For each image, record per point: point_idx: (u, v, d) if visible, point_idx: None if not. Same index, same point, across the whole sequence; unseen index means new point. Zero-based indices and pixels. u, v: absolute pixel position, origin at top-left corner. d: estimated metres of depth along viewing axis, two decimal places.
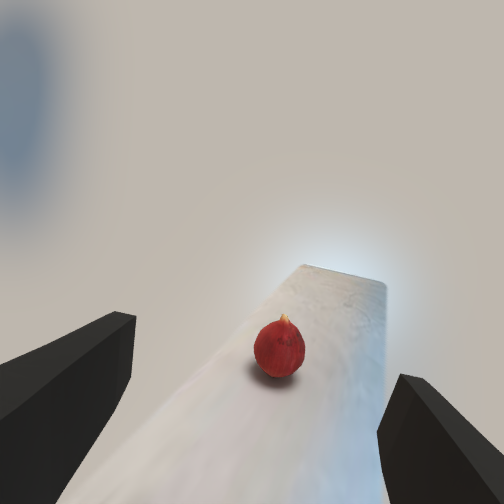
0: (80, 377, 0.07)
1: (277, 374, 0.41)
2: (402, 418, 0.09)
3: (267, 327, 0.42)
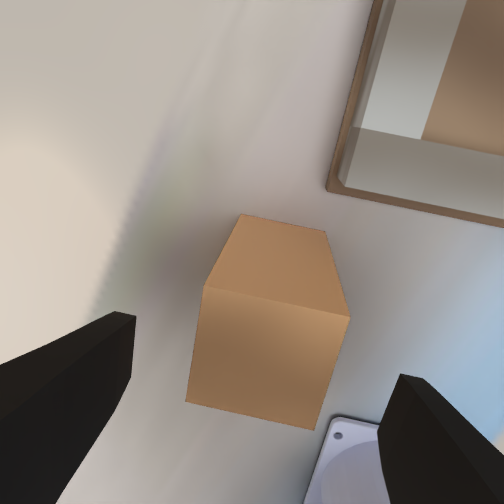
0: (80, 377, 0.07)
1: None
2: (402, 418, 0.09)
3: None
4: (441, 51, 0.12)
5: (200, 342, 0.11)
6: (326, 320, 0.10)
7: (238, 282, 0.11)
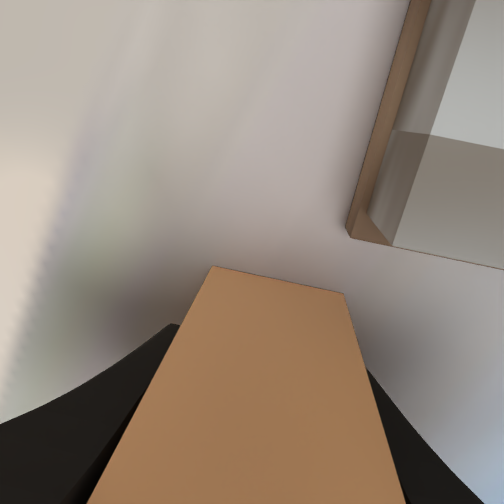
0: None
1: None
2: None
3: None
4: None
5: None
6: None
7: None
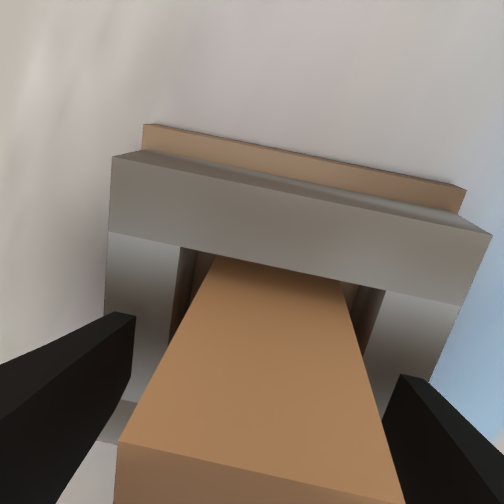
0: (80, 377, 0.07)
1: None
2: (402, 418, 0.09)
3: None
4: (161, 338, 0.11)
5: None
6: None
7: (191, 418, 0.06)
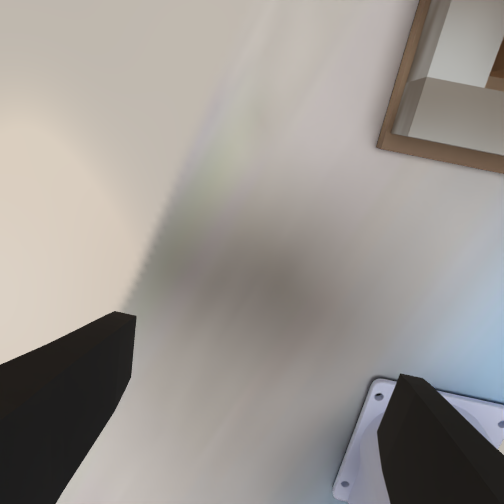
0: (80, 377, 0.07)
1: None
2: (402, 418, 0.09)
3: None
4: None
5: None
6: None
7: None
